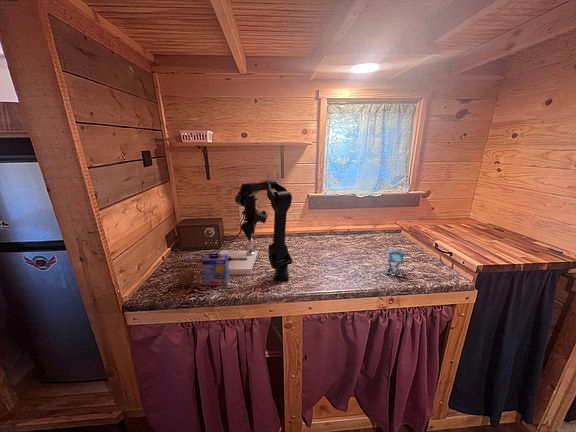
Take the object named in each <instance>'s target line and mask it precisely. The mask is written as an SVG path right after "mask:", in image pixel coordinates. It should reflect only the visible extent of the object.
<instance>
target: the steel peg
mask: <svg viewBox="0 0 576 432" xmlns="http://www.w3.org/2000/svg"><path fill="white" fill-rule="evenodd" d="M247 241H248V242H247V243H248V250H246V251H247V255H248V256H252V255H255V251H256V250H253V247H254V246H253V236H252V237H251V241H249V240H248V239H247Z"/></svg>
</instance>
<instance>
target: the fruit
mask: <svg viewBox="0 0 576 432" xmlns="http://www.w3.org/2000/svg"><path fill="white" fill-rule="evenodd" d="M194 280H195V273H194V271H193V270H192V269H191V268H189V267H188V268H183V269H181V270H180V271H179V272H178V281H179V283H180V285H181V286H183V287H188V286H190V285H192V284H193V282H194Z"/></svg>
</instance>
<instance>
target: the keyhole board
mask: <svg viewBox="0 0 576 432" xmlns="http://www.w3.org/2000/svg"><path fill="white" fill-rule="evenodd" d="M247 251H248V250H234V249H233V250H225V249H223V250H222V249H221V251H220V252H219V253H218V255H220V254H227V255H228V259H231V260H228V266H229V275H244V276H246V275H247V276H248V275H253V268H254V264H255V261H256V259H257V257H259V251H258V250H254V251H255V255H252V256H248V255H247Z"/></svg>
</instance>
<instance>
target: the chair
mask: <svg viewBox="0 0 576 432" xmlns="http://www.w3.org/2000/svg"><path fill="white" fill-rule="evenodd" d="M405 255H406V250H404V249H400V250H397V249H395V250H393V249H392V247H389V248H388V254H387V261H388V262H387V263H388V265H389V266H388V267H387V268H386V269H385V272H384V274H385V273H387V274H395V275H401V274H402V276H403V277H404V273H403V272H402V271H401V270H400V269H399V266H400V264H401V265H402V264H404V263H405V261H404V258H405ZM392 263H397V264H395V266H394V269H395V268H396V269H397V270H398V271H399V272H400V273H401V274H399V273H395V272H394V273H393V272H390V270H391V269H392ZM390 268H391V269H390ZM389 269H390V270H389ZM396 269H395V270H396ZM388 270H389V272H388Z"/></svg>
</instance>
